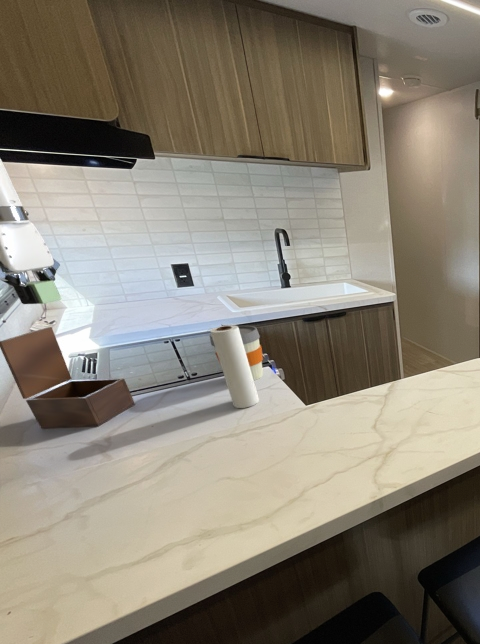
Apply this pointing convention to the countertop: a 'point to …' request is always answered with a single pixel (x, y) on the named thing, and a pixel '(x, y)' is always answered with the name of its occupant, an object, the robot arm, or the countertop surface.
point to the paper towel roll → (235, 365)
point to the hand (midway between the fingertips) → (41, 300)
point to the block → (44, 291)
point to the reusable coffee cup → (250, 349)
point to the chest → (81, 403)
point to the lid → (35, 361)
